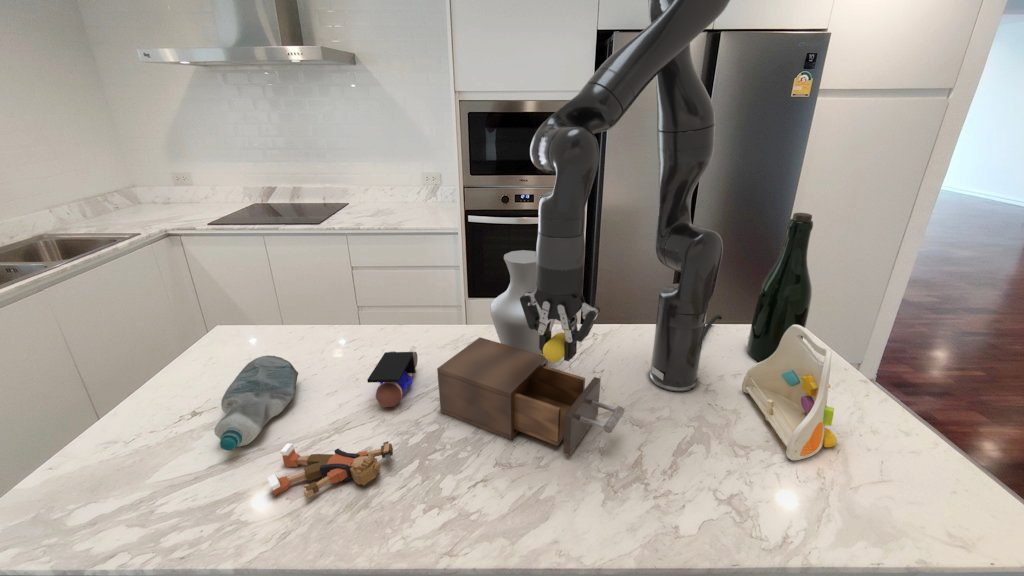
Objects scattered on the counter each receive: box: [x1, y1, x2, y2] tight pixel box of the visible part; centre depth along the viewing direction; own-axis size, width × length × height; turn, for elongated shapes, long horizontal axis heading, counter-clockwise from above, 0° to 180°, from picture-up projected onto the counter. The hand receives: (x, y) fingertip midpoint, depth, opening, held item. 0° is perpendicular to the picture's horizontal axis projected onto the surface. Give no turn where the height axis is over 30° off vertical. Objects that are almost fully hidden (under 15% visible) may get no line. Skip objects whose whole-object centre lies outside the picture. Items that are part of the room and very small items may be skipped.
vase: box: [489, 249, 556, 355], centre depth 104 cm, size 14×14×25 cm
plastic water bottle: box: [213, 355, 299, 451], centre depth 90 cm, size 13×7×25 cm
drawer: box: [513, 365, 625, 456], centre depth 85 cm, size 20×13×8 cm, turn 59°
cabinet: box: [436, 336, 549, 441], centre depth 92 cm, size 16×14×10 cm
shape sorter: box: [741, 325, 837, 461], centre depth 84 cm, size 20×10×18 cm, turn 177°
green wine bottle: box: [746, 212, 814, 362], centre depth 103 cm, size 10×10×33 cm
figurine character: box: [366, 351, 419, 408], centre depth 98 cm, size 7×8×15 cm
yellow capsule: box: [542, 332, 566, 363], centre depth 81 cm, size 7×4×4 cm, turn 149°
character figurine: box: [267, 441, 394, 499], centre depth 76 cm, size 12×5×18 cm
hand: (557, 355), depth 81 cm, fingers closed on yellow capsule, 3 cm apart
